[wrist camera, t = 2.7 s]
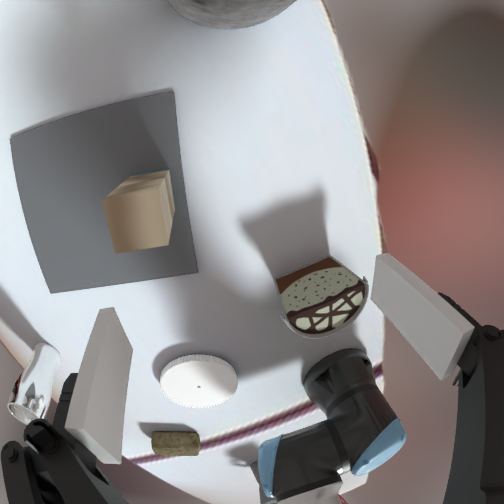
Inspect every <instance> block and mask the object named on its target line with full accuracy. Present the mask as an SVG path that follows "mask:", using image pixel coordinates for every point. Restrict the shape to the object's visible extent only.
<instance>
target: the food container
mask: <svg viewBox="0 0 504 504" xmlns="http://www.w3.org/2000/svg"><path fill="white" fill-rule="evenodd" d="M274 282H275V285H276V288H277V292H278V295H279V298H280V302H281V305H282V308H283V311H284V315H285V318H284V317H283V316H282V315H281V314H279V316H280V317H281V319H282V321H283V322H284V323H285V324H286V325H287V326H288V327H289V329H291V330H292V331H293V332H294V333H296V334H298V335H300V336H302V337H305V338H311V339H319V338H325V337H329V336H332V335H334V334H337V333H338V332H340V331H342V330H344V329H345V328H346V327H348V326H349V325H350V324H351V323H352V322H353V321H354V320H355V319H356V318H357V317H358V316H359V314H360V313H361V311H362V310H363V308H364V306H365V304H366V301H367V298H368V292H369V285H368V281H367V280H366V278H365V276H363V280H362V279H361V278H359V277H358V276H357V275H356V274H354V273H353V272H352V271H350V270H349V269H348V268H346V267H345V266H344V265H342V264H341V263H340V262H338V261H337V260H336V259H334V258H333V257H332V256H330V255H329V256H327V257H324V258H322V259H320V260H317V261H315V262H312V263H310V264H308V265H305V266H303V267H301V268H298V269H296V270H294V271H291V272H289V273H286V274H284V275H281V276H279V277H277V278H274Z"/></svg>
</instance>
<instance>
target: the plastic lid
mask: <svg viewBox="0 0 504 504" xmlns="http://www.w3.org/2000/svg"><path fill="white" fill-rule="evenodd" d="M237 386H238V380H237V376H236V372H235V370H234V369H233V367H232V366H231V365H230V364H229V363H227V362H225V360H222V359H219V358H218V357H217V358H216V357H215V356H214V357H213V356H209V355H205V354H204V355H202V354H200V355H198V354H196V355H194V354H192V355H189V356H187V355H186V356H182V357H181V358H180V357H179V358H178V359H177V358H176V359H175V360H173V361H171V362H170V363H168V365H166V367H164V369H163V371H162V372H161V375H160V388H161V391H162V393H163V394H164V395H165V397H167V398H169V400H171V401H173V402H174V403H176V404H179V405H181V406H184V407H190V408H205V407H206V408H208V407H211V406H212V407H213V406H216V405H219V404H220V403H222V402H225V401H227V399H229V398H231V396H233V394H234V392H236V391H235V390H237V389H236V388H237Z"/></svg>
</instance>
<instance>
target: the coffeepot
mask: <svg viewBox="0 0 504 504" xmlns="http://www.w3.org/2000/svg"><path fill="white" fill-rule="evenodd" d="M251 469H252V471H253V473H254V476H255V478H256V480H257V482H258V483H259V486H260V487H259V491H260V502H261V504H278V503H277V500H276V497H274V498H271V497H267V496H266V495H265V493H264V490H263V486H262V483H261V480H260V474H259V468H258V461H257V462H255V463H253V464H252V465H251Z"/></svg>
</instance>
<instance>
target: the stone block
mask: <svg viewBox="0 0 504 504" xmlns="http://www.w3.org/2000/svg"><path fill="white" fill-rule="evenodd" d="M151 442H152V449H153V451H154V453H155V454H158V455H167V456H197V455H198V454H199V451H200V438H199V434H198V433H193V432H154V433H153V434H152V440H151Z"/></svg>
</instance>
